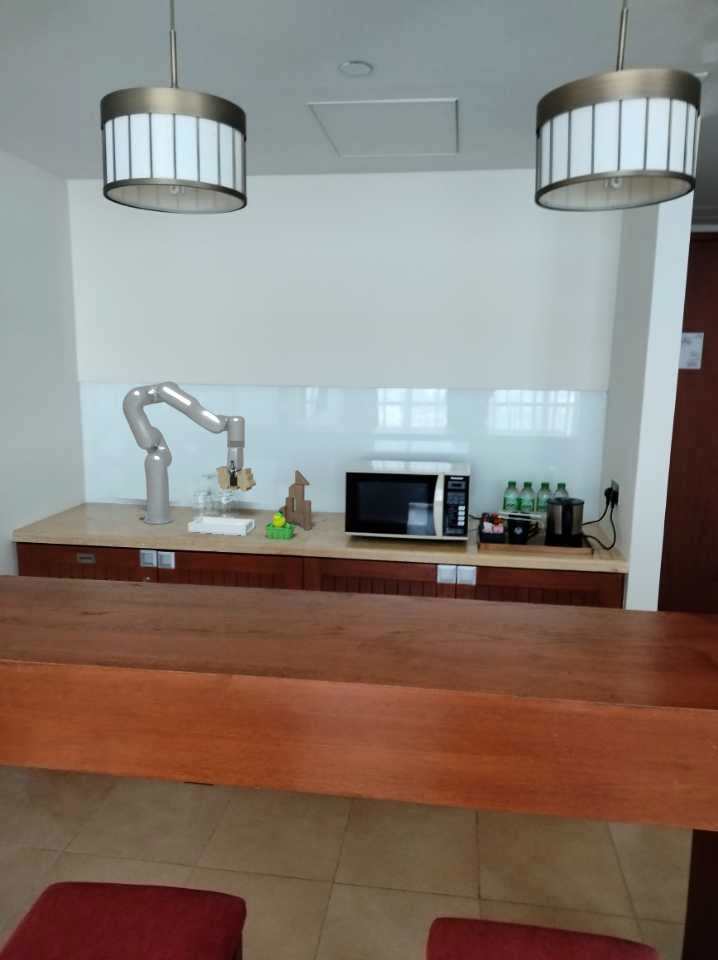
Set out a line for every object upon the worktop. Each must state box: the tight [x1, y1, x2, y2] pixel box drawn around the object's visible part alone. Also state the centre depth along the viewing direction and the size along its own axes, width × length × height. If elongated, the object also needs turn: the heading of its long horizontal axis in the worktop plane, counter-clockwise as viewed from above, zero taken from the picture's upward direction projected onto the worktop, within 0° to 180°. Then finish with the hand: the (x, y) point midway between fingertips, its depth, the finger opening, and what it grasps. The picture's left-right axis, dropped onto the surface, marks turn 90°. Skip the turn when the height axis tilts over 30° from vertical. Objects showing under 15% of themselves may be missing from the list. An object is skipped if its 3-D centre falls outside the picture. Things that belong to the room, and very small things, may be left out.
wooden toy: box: [277, 469, 312, 531], centre depth 298 cm, size 16×7×25 cm, turn 72°
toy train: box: [215, 465, 257, 493], centre depth 304 cm, size 6×17×10 cm, turn 72°
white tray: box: [187, 515, 256, 537], centre depth 291 cm, size 25×13×4 cm, turn 81°
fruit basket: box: [264, 512, 296, 541], centre depth 281 cm, size 11×9×11 cm
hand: (236, 483), depth 304 cm, fingers closed on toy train, 6 cm apart
